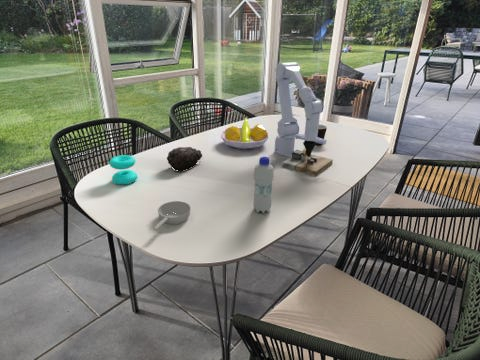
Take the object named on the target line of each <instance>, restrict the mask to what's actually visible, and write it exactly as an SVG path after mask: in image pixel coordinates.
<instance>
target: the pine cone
mask: <svg viewBox="0 0 480 360" xmlns="http://www.w3.org/2000/svg"><path fill="white" fill-rule="evenodd" d="M202 158H203V154H202V151H201V150H200V149H196V148H194V147H191V146H186V147H185V146H184V147H183V146H182V147H180V146H178V147H176V148H173V149H172V150H171V151H169V152H168V154H167V156H166V160H167V163H168V164H169V166H171V168H172V167H173V168H174V169H175V170H178V171H183V170H186V169H188V170H190V169H189V168H191V167H193V166H194V167H196V166H197V165H196V163H197V162H199V161H200V160H201V159H202ZM195 165H196V166H195ZM194 167H193V168H194ZM191 169H192V168H191ZM186 171H187V170H186ZM183 172H184V171H183Z"/></svg>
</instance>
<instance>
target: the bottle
mask: <svg viewBox="0 0 480 360" xmlns="http://www.w3.org/2000/svg"><path fill="white" fill-rule="evenodd" d="M270 162H271V161H270V158H269V157H267V156H261V157H259V160H258V163H257V164H256V165H255V166H254V171H253V173H254V174H253V180H254V192H253V195H254V197H253V209H254V211H256V212H257V213H260V212H261V213H262V214H265V212H266V213H269V212H270V210H271V207H272V190H273V181H274V167H273V165H271V163H270Z"/></svg>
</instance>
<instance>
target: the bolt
mask: <svg viewBox="0 0 480 360" xmlns="http://www.w3.org/2000/svg"><path fill="white" fill-rule="evenodd" d="M302 151H303V154H302V155H300V159H302V160H306V159H307V153H306V149H303V150H302Z"/></svg>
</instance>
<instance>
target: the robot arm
mask: <svg viewBox="0 0 480 360" xmlns="http://www.w3.org/2000/svg"><path fill="white" fill-rule="evenodd" d="M274 71H275V77H276V78H275V80H276V82H277V88H278V97H279V107H280V113H281V118H280V119H279V121H278V122H277V128H276V129H277V130H276V131H277V136H276V137H275V139H274V151H273V153H274V154H277V155H281V156H285V157H288V158H291V157H292V152H294V151H295V141H296V140H302V141H303V142H302V144H303V146H304V148H305V149H306V153H307V157H309V156H311V154H312V153H313V151H314V149H315V147H316V146H315V145H316V144H317V143H320V144H322V146H325V145H326V144H327V139H325V138H324V139H322V138H319V137H317V135H318V126H319V125H320V124H319V123H320V117H321V113H323V112H324V103H323V100H322V99H319V98H318V97H316V95H315V93H314V91H313V90H312V88H311V87H310V86H307V85H306V83H305V81H304V79H303V77H302V75H301V67H300V65H299V63H298V62H297V61H294V62H278V64H276V67H275V70H274ZM291 82H292V83H294V85H295V86H296V88H297V89H298V96H299V98H300V99H301V101H302V103H303V105H304V107H303V108H304V114H305V115H304V116H305V128H304V134H301V133H300V126H299V122H298V119H296V117H294V116H293V107H292V100H291V98H292V97H291V91H290V90H291V89H290V83H291Z"/></svg>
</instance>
